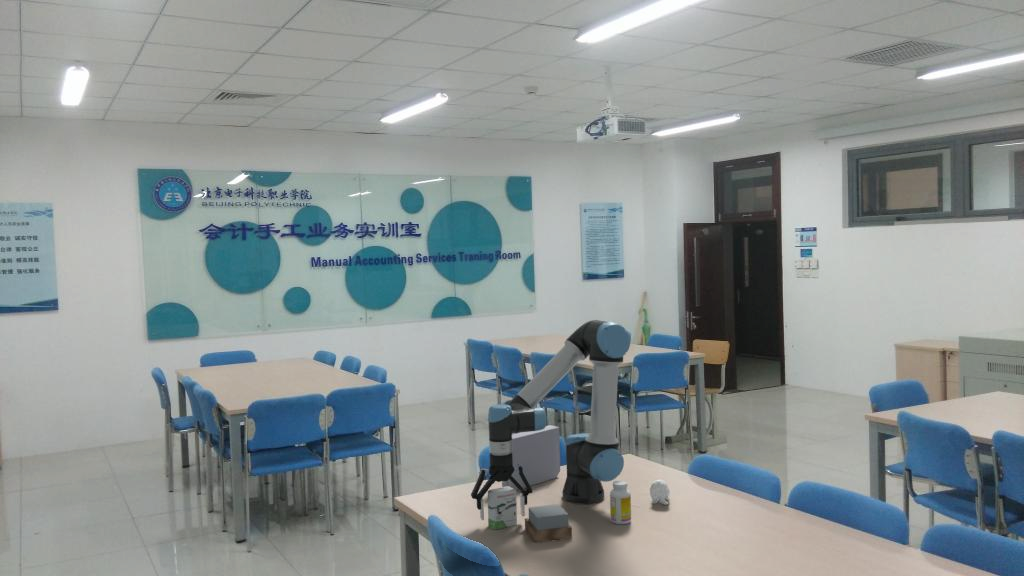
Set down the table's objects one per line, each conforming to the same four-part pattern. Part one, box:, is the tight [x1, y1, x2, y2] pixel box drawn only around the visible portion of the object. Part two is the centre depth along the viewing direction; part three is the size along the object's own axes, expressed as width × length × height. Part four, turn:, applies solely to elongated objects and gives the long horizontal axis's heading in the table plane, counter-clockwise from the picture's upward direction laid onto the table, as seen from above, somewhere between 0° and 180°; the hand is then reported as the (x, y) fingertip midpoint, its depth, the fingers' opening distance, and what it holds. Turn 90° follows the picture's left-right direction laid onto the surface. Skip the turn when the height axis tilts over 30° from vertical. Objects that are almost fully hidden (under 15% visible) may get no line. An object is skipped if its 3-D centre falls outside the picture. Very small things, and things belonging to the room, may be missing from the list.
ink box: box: [487, 486, 518, 530], centre depth 249 cm, size 9×5×12 cm, turn 123°
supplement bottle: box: [609, 480, 632, 525], centre depth 249 cm, size 7×7×13 cm
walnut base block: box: [524, 517, 573, 544], centre depth 240 cm, size 12×12×4 cm
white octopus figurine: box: [649, 479, 671, 506], centre depth 269 cm, size 6×8×12 cm
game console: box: [501, 424, 561, 491], centre depth 294 cm, size 6×27×20 cm, turn 133°
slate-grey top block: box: [528, 503, 570, 530], centre depth 239 cm, size 10×10×4 cm
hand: (502, 516), depth 249 cm, fingers open, 13 cm apart
